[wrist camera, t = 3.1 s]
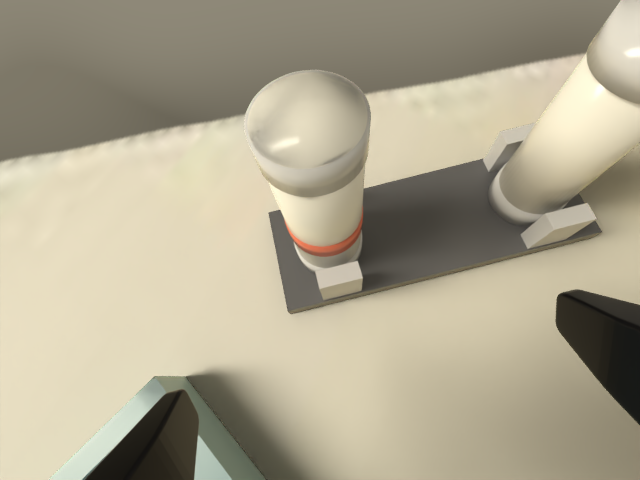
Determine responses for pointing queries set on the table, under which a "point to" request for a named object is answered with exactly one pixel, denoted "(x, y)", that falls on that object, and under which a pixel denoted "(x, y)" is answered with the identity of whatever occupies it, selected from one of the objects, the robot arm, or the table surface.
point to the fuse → (578, 126)
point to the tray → (212, 446)
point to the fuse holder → (429, 232)
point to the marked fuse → (314, 160)
